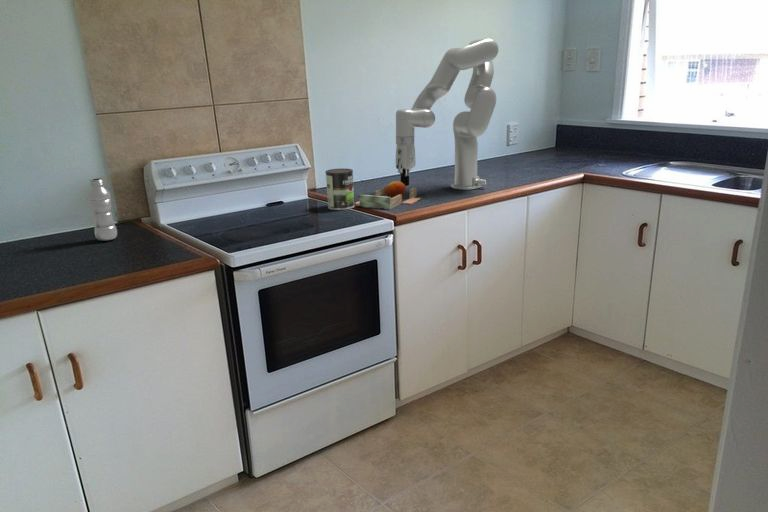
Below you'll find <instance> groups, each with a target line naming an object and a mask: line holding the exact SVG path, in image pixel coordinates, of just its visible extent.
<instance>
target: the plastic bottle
mask: <svg viewBox="0 0 768 512" xmlns="http://www.w3.org/2000/svg"><path fill="white" fill-rule="evenodd" d="M89 185H90V187H91V188H90V190H89V192H88V196H87V198H88V201H89V204H90V207H91V210H92V213H93V221H94V235H95V236H94V237H95V238H96V239H97V240H98V241H105V242H106V241H111V240H114V239H116V238H117V236H118V229H117V226H116V225H115V221H114V218H113V217H114V216H113V212H112V195H111V192H110V191H109V190H108V189H107V188H106V187H105V186H104V185H105V182H104V179H103V178H101V177H100V178H99V177H98V178H92V179H89Z"/></svg>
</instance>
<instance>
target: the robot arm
mask: <svg viewBox="0 0 768 512" xmlns="http://www.w3.org/2000/svg"><path fill="white" fill-rule="evenodd" d="M498 53H499V45H498V43H497V42H496V40H494V39H492V38H480V39H479V38H478V39H473V40H471V41H470V42H469V44H468V45H466V46H461V47H452V48H450V49H448V50H447V51H446V52H445V53H444V54H443V57H442V58H441V60H440V62H439V64H438V66H437V68H436V70H435V71H434V74H433V75H432V77H431V79H430V81H429V83H427V84H426V85H425V87H424V88H423V89H422V91H421V92H420V93H419V94H418V96H417V97H416V99H415V100H414V103H413V104H412V107H411V109H410V108H409V109H408V108H403V109H402V108H401V109H398V110H396V112H395V145H396V149H395V168H396V169H397V173H399V176H400V182H402V183H403V184H404V185H405V187H408V186H409V185H410V174H411V170H412V169H413V168H415V167H416V148H415V147H416V146H415V128H423V129H427V128H430V127H432V126H433V125H434V124H435V121H436V114H435V113H434V112H433V111H432V110H431V108H432V107H433V106H434V105H435V103H436V102H437V101H438V100H439V99H440V98H442V97H444V96H445V95H446V94H448V93H449V92H450V91H451V88H452V86H453V84H454V82H455V81H456V78H457V77H458V75H459V73H460V71H465V70H469V69H472V74H471V78H470V80H469V83H468V86H467V88H466V89H467V90H466V91H465V94H464V98H463V99H464V104H465V106H466V108H469V109H470V111H467V110H466V111H461V112H459V113H457V114H456V115H455V117H454V119H453V123H452V127H453V129H452V130H453V135H454V136H453V137H454V182H452V183H451V184H450V187H451V188H452V189H454V190H455V189H456V190H461V191H462V190H464V191H465V190H467V191H468V190H469V191H470V190H475V189H476V190H477V189H479V188H481V187H482V186H481V185H485V186H486V185H487V180H486V179H485V178H483V179H481V178H480V176H479V175H478V151H479V150H478V149H479V148H478V147H479V145H478V138H479V137H481V136H482V135H484V134H485V133H486V130H487V129H488V126H489V124H490V121H491V119H492V117H493V113H494V110H495V108H496V104H497V94H496V92H495V90H494V89H493V88H492V87H491V85H492V81H493V79H494V75H495V74H494V73H495V72H494V71H495V69H494V63H493V60H494V59H495V58H496V57H497V56H498Z"/></svg>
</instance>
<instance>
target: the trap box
mask: <svg viewBox="0 0 768 512" xmlns="http://www.w3.org/2000/svg"><path fill="white" fill-rule="evenodd" d="M408 192H409V195H408V196H409V198H408V199H410V198H417V196H418V187H412V188H411V189H409V191H408ZM358 199H359V201H360V205H359V207H360V206H364V207H363V208H369V207H373V208H372V209H380V208H384V209H383V210H392V209H393V208H395V207H397V206H400V205H402V202H403V201H402V200H403V198H402V195H397V196H395V197H393V198H391V197H387V194H386V186H384V187H382V188H379V189H377V190H375V191H374V195H373V194H372V195H371V194H359V197H358Z"/></svg>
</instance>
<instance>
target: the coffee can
mask: <svg viewBox="0 0 768 512" xmlns="http://www.w3.org/2000/svg"><path fill="white" fill-rule="evenodd" d="M353 174H354V170H353V169H352V168H330V169H327V170H326V171H325V179H326V180H325V181H326V196H327V208H328V209H329V210H332V211H344V210H345V211H346V210H351V209H353V208H355V194H354V191H355V190H354V176H353Z"/></svg>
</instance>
